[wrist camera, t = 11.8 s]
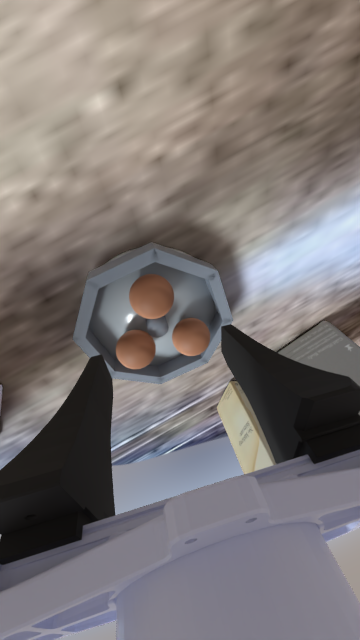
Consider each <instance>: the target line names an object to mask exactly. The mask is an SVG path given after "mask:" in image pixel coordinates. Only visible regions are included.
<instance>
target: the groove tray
mask: <svg viewBox="0 0 360 640" xmlns="http://www.w3.org/2000/svg"><path fill="white" fill-rule="evenodd" d="M146 274H156V275H160V276H162V277H164V278H165V279H166V280H167V281H168V282H169V283H170V284H171V286H172V288H173V291H174V302H173V305H172V307H171V309H170V310H169V312H168V313H167V314H165V315H164V316H162V317H160V318H156V319H147V318H144V317H142V316H140V315H138V314H137V313H136V312H135V311H134V310H133V308H132V306H131V304H130V301H129V292H130V288H131V286H132V284H133V283H134V282H135V281H136V280H137V279H138V278H139V277H141V276H143V275H146ZM186 318H196V319H199V320H201V321H202V322H204V323H205V324H206V326H207V327H208V329H209V332H210V342H209V345H208V347H207V348H206V350H205V351H204V352H202V353H201V354H199V355H196V356H187V355H184V354H182V353H180V352H179V351H178V350H177V349H176V348H175V346H174V344H173V341H172V333H173V329H174V327H175V326H176V324H177V323H178V322H180V321H181V320H183V319H186ZM232 321H233V318H232V315H231V312H230V308H229V305H228V302H227V299H226V295H225V292H224V289H223V286H222V283H221V279H220V276H219V273H218V271H217V270H216V268H215V267H214V266H213V265H212V264H210V263H207V262H205V261H202V260H199V259H197V258H194V257H192V256H191V255H189V254H187V253H185V252H183V251H180V250H177V249H173V248H169V247H164V246H161V245H159V244H156V243H153V242H150V243H148V244H146V245H144V246H142V247H140V248H136V249H132V250H129V251H126V252H124V253H121V254H119V255H117V256H115V257H114V258H112V259H110V260H109V261H108V262H106V263H105V264H104V265H102V266H100V267H98V268H96V269H94V270H92V271H90V272H88V276H87V280H86V284H85V289H84V293H83V297H82V301H81V305H80V310H79V314H78V318H77V322H76V326H75V331H74V335H73V340H74V342H75V343H76V344H77V345H78V346H79V347H80V348H81V349H82V350H83V351H84V352H85V353H86V354H87V356H88V357H89V358H91V357H92V356H97V355H101V354H102V356H103V358H104V360H105V363H106V365H107V368H108V370H109V372H110V375H111V377H112V378H114V379H122V380H131V381H139V382H148V383H156V384H162V383H164V382H166V381H169V380H171V379H173V378H175V377H177V376H180V375H182V374H184V373H186V372H188V371H191V370H193V369H195V368H197V367H199V366H202V365H204V364H206V363H208V361H209V360H210V358H211V356H212V355H213V353H214V351H215V350H216V348H217V346H218V345H219V343H220V341H221V326H225V325H229V324H231V323H232ZM130 330H142V331H145V332H147V333H148V334H149V335H150V336H151V337H152V338H153V340H154V342H155V345H156V353H155V356H154V358H153V360H152V361H151V363H150V364H149V365H147V366H146V367H144V368H141V369H130V368H127V367H125V366H124V365H122V364H121V363H120V361H119V360H118V358H117V355H116V345H117V342H118V340H119V338H120V337H121V336H122V335H123V334H124V333H126V332H128V331H130Z"/></svg>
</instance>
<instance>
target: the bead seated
mask: <svg viewBox="0 0 360 640" xmlns="http://www.w3.org/2000/svg"><path fill="white" fill-rule="evenodd" d="M172 341H173V344H174V346H175V348H176V349H177V350H178V351H179V352H180V353H182V354H184V355H187V356H196V355H199V354H201V353H202V352H204V351H205V350H206V348H207V347H208V345H209V342H210V332H209V329H208V327H207V326H206V324H205V323H204V322H202V321H201V320H199V319H196V318H186V319H183V320H181V321H180V322H178V323H177V324H176V326H175V327H174V329H173V333H172Z"/></svg>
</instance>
